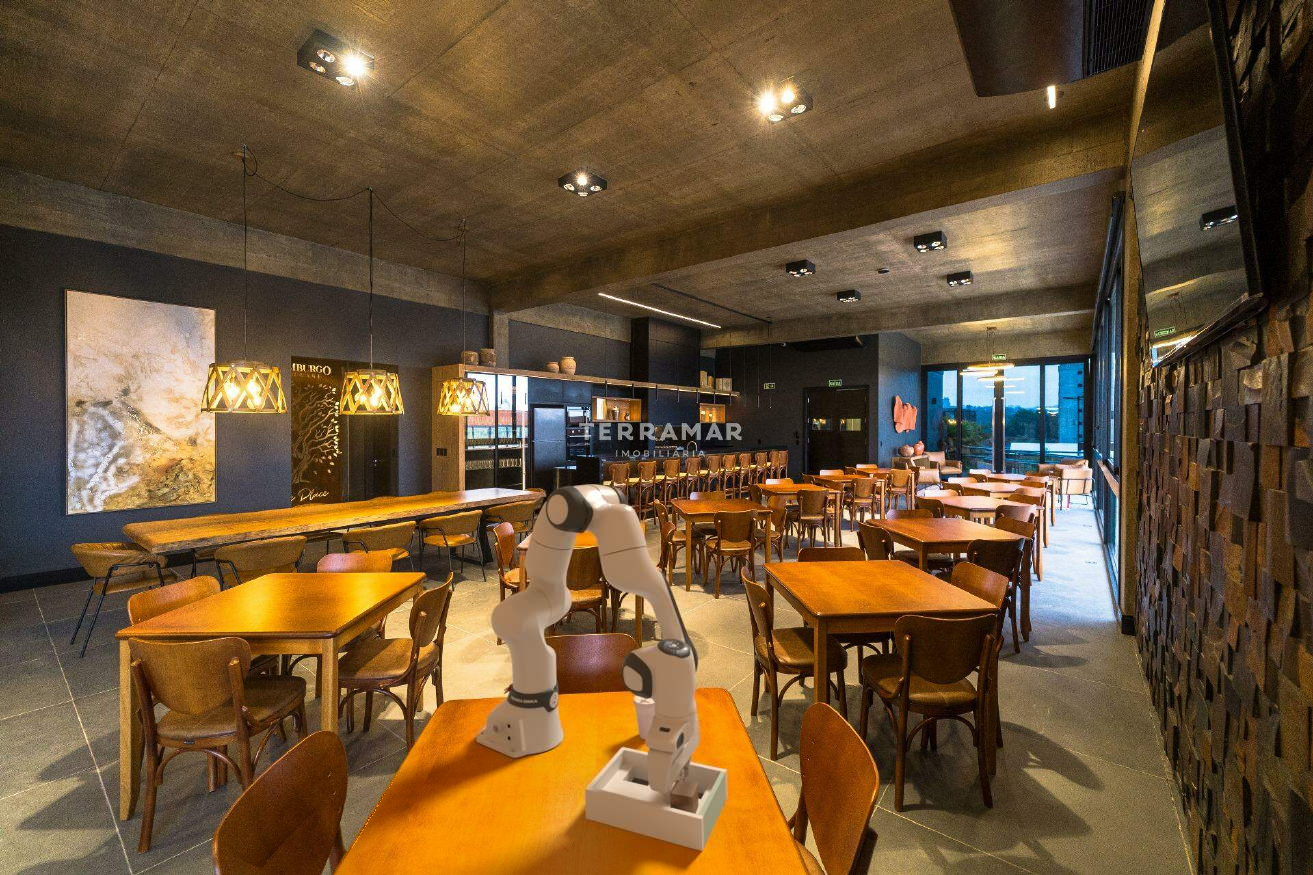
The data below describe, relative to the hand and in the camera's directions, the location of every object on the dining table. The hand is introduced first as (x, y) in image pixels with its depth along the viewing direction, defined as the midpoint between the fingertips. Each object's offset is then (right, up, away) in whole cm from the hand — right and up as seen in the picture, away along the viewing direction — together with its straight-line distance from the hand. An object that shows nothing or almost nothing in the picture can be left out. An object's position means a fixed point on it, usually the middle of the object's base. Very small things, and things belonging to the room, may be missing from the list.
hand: (676, 788), depth 118 cm
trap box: (-4, -5, +1) cm, 6 cm away
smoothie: (-7, -5, +30) cm, 31 cm away
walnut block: (+1, -2, -5) cm, 5 cm away
